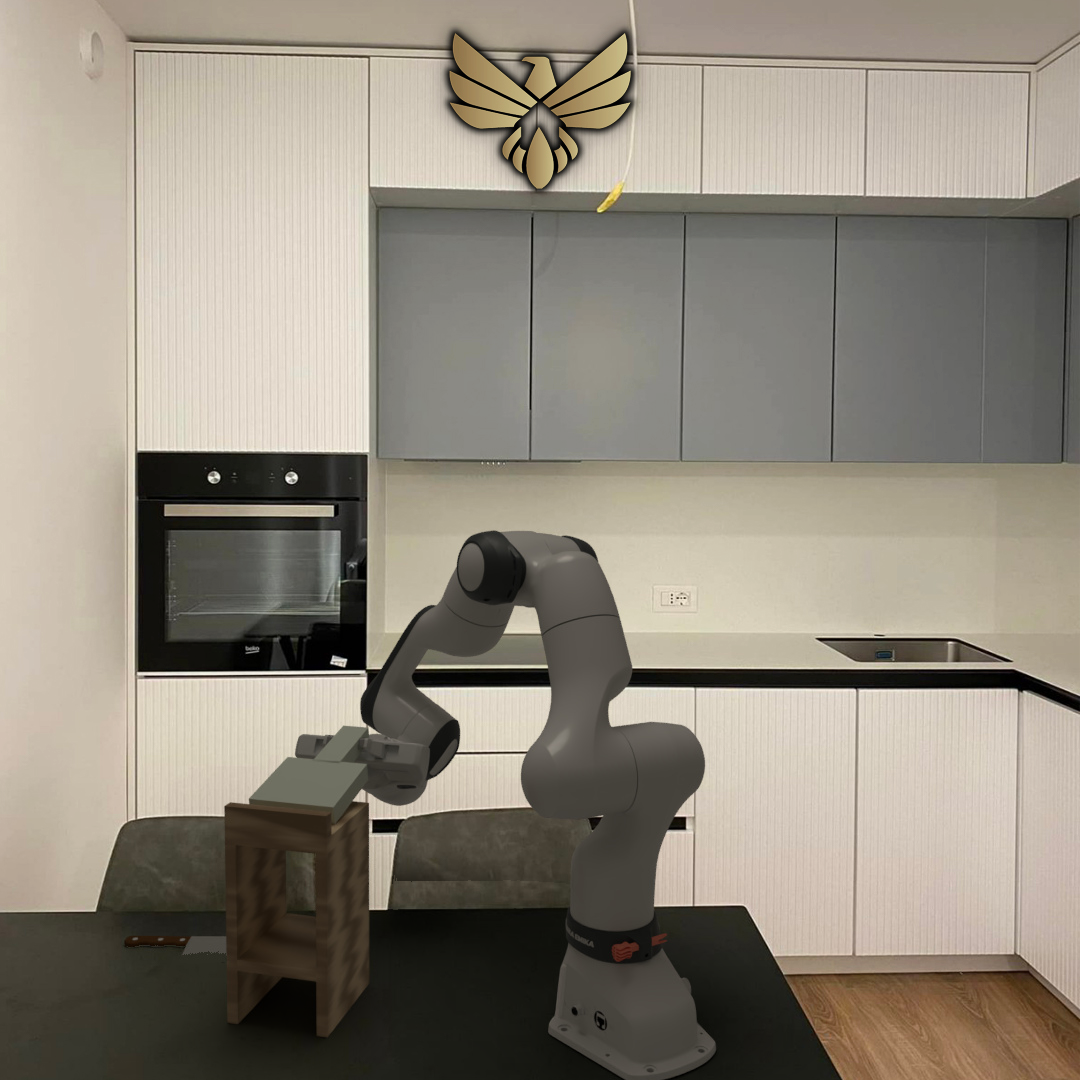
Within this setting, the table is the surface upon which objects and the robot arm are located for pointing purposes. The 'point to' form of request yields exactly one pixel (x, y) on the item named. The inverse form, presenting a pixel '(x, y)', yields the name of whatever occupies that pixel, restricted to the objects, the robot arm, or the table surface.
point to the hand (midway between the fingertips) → (345, 741)
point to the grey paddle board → (319, 777)
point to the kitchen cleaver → (182, 942)
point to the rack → (289, 939)
